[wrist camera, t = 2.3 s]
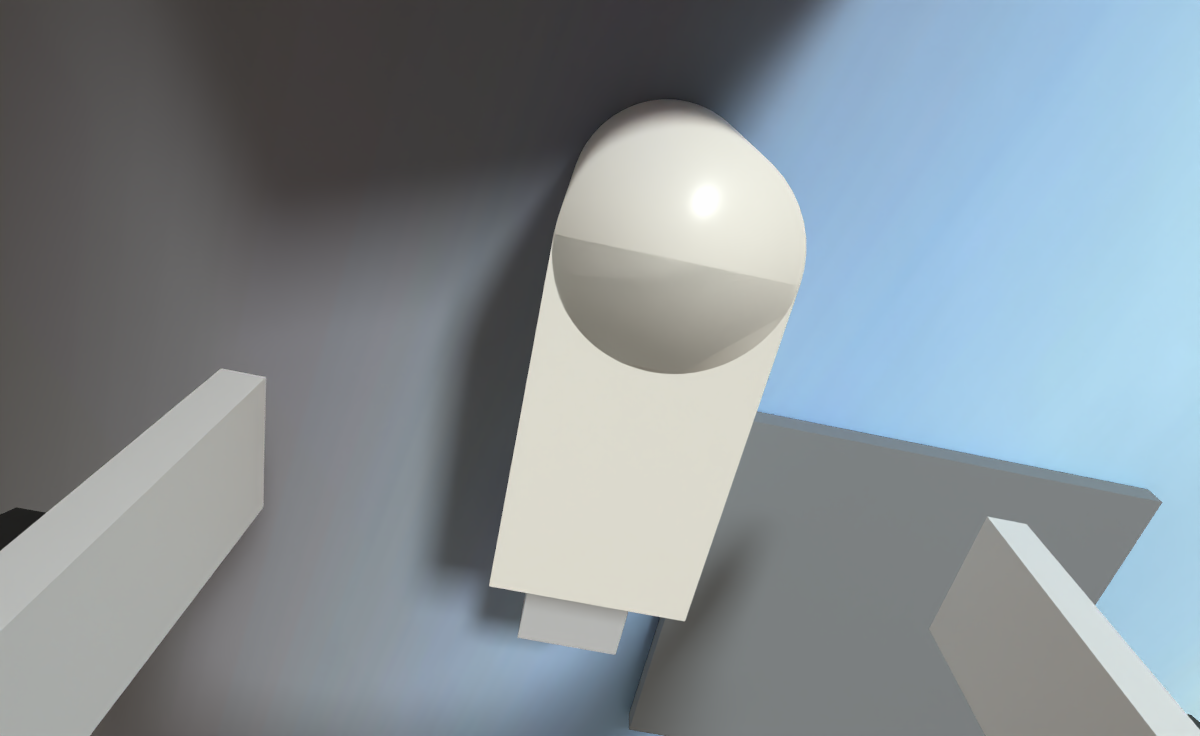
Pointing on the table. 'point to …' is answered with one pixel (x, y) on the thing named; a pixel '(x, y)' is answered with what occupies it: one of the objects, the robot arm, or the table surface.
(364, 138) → the table surface
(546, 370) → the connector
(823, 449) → the coaster
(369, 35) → the table surface
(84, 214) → the table surface
